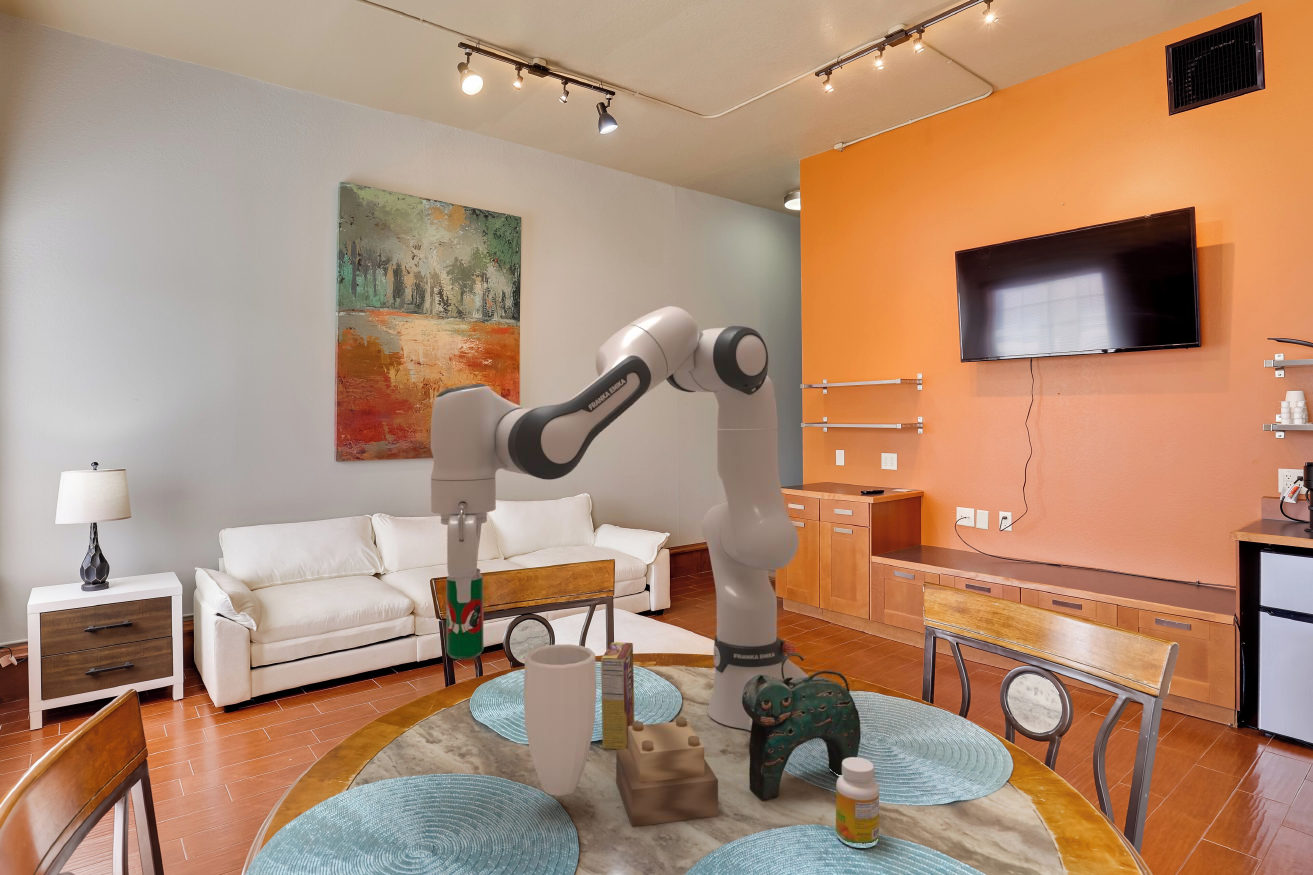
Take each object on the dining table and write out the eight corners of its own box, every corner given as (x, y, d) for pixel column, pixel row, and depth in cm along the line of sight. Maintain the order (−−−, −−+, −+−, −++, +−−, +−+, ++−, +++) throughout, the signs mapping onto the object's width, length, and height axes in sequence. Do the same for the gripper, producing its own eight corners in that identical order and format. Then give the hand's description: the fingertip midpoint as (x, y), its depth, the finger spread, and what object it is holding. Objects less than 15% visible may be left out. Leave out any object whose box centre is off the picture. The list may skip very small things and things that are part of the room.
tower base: (693, 774, 109) (693, 710, 109) (717, 815, 98) (718, 744, 97) (616, 782, 106) (616, 717, 106) (631, 826, 95) (632, 753, 95)
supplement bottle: (829, 827, 95) (830, 754, 95) (869, 825, 95) (869, 753, 95) (843, 851, 90) (844, 774, 89) (885, 849, 90) (886, 773, 90)
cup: (565, 837, 92) (565, 672, 92) (506, 813, 98) (506, 657, 97) (612, 801, 101) (612, 650, 101) (555, 782, 107) (555, 638, 106)
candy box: (611, 726, 126) (611, 641, 126) (635, 728, 126) (635, 642, 126) (600, 748, 118) (600, 657, 117) (625, 750, 117) (626, 658, 117)
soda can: (488, 649, 104) (487, 567, 103) (476, 660, 99) (476, 574, 98) (454, 648, 104) (453, 566, 104) (441, 659, 99) (440, 574, 99)
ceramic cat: (756, 808, 100) (757, 666, 99) (732, 786, 106) (733, 652, 105) (867, 778, 108) (868, 647, 108) (839, 760, 114) (840, 636, 114)
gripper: (486, 506, 91) (487, 613, 92) (486, 491, 111) (487, 579, 112) (435, 507, 90) (436, 616, 90) (444, 492, 110) (445, 581, 110)
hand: (464, 595), depth 101 cm, fingers closed on soda can, 5 cm apart
